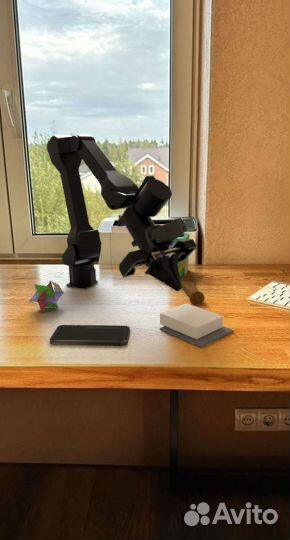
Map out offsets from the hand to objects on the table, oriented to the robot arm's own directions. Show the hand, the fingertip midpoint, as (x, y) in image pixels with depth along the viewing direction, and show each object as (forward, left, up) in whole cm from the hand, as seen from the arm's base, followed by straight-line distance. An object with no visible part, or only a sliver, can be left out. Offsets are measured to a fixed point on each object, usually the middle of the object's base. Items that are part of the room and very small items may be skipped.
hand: (179, 290), depth 84 cm
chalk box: (-16, +33, -8) cm, 37 cm away
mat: (+4, -2, -8) cm, 9 cm away
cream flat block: (-2, +1, -6) cm, 6 cm away
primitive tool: (-6, +21, -8) cm, 23 cm away
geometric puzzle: (-31, -5, -8) cm, 32 cm away
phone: (-14, -13, -8) cm, 21 cm away
